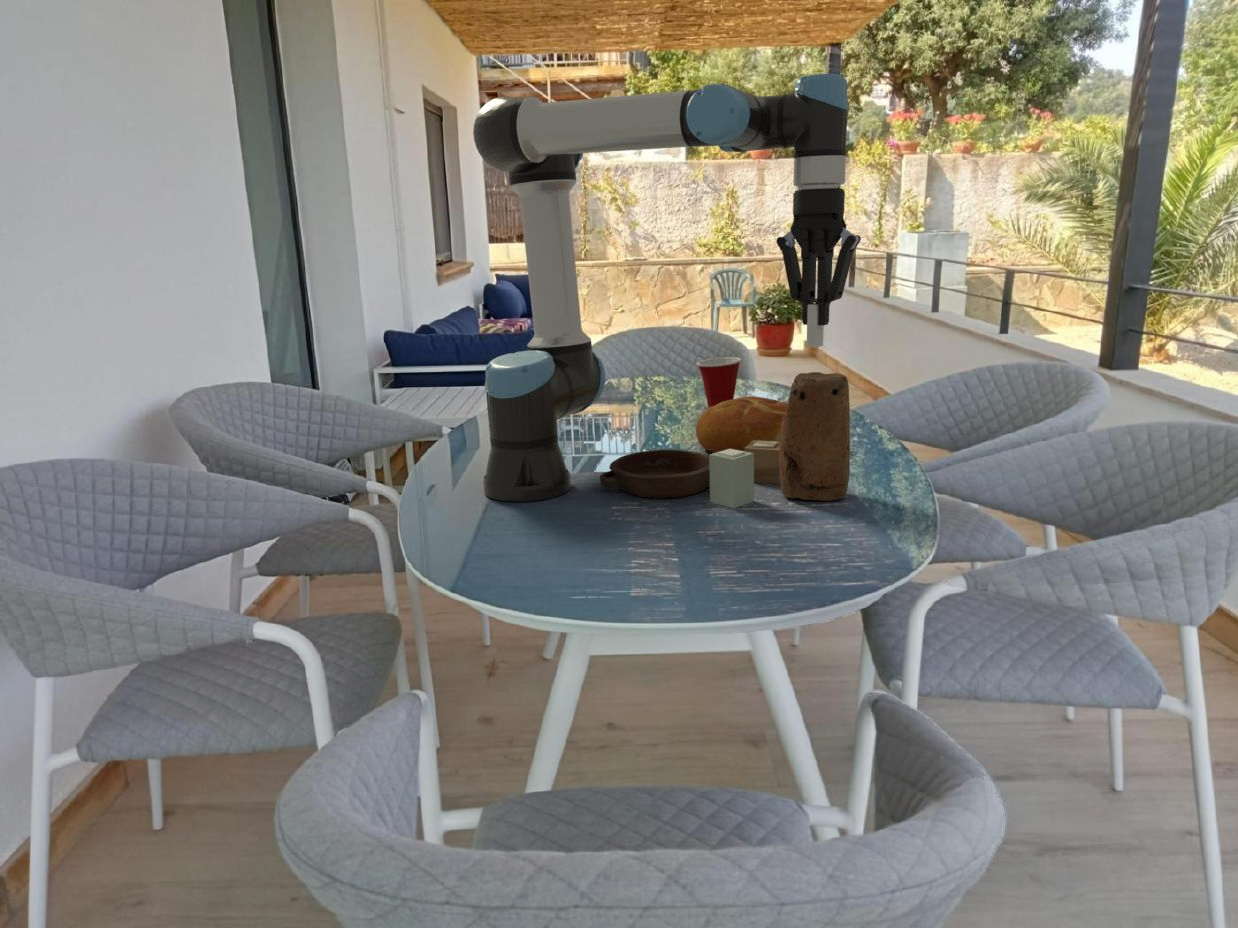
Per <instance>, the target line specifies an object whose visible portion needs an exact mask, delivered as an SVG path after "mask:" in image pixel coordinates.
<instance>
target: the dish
mask: <svg viewBox="0 0 1238 928" xmlns="http://www.w3.org/2000/svg"><path fill="white" fill-rule="evenodd" d="M599 480H600V483H601V485H602V486H603V487H605V488H606V487H607V488H617V489H621V490H624V492H626V493H628V494H630V495H633V496H639V497H642V498H644V497H645V498H651V497H654V498H653V499H669V498H668V497H671V498H681V497H686V496H690V495H694V494H697V493H700V492H702V491H704V490H706V489H707V488H708V487H710V461H709V455H708V454H705V453H701V452H697V451H690V450H683V449H651V450H645V451H637V452H631V453H629V454H625V455H622V456H620V457H618V458H617V459H615V460H613V461H612V462H611V463H610V465H609V471H605V472H603V473H601V474H600V475H599Z"/></svg>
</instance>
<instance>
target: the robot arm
mask: <svg viewBox="0 0 1238 928" xmlns="http://www.w3.org/2000/svg"><path fill="white" fill-rule="evenodd" d="M848 103H849V102H848V81H847V79H846V78H845V77H844V76H842V75H840V74H836V73H817V74H816V73H815V74H809V75H804V76H801V77H799V78H797V80H796V81H795V85H794V88H793V92H790V93H788V94H780V95H779V94H778V95H777V94H776V95H767V96H758V95H755V94H751V93H748V92H745V91H743V90H741V89H738V88H735V87H734V86H731V85H729V84H724V83H723V84H720V83H717V84H716V83H713V84H712V83H711V84H707V85H704V86H702V87H701V88H698V89H694V90H690V89H689V90H678V91H677V90H676V91H665V92H654V93H653V92H652V93H643V94H642V93H641V94H632V95H630V94H629V95H619V96H608V97H607V96H605V97H597V98H595V97H594V98H585V99H584V98H583V99H573V100H572V99H571V100H561V101H550V102H549V101H548V102H546V101H545V102H544V101H542V100H541V99H540V98H538V97H537V96H526V97H525V96H523V97H516V96H499V97H497V98H494V99H491V100H489V101H488V102H487V103H485V104H484V105H483V106H482V107H481V109H480V110H479V112H478V113H477V115H476V116H475V117H476V118H475V120H474V124H473V133H472V135H473V141H474V144H475V147H476V150H477V152H478V153H479V156H480V157H481V158H482V159H483V160H484V161H485V162H486V163H487V164H488V165H490V166H491V167H492V168H494V169H496V170H498V171H502V172H506V173H508V181H509V189H511V191H513V193H515V194H516V195H517V196H518V197H519V200H520V202H519V203H520V211H521V220H522V229H523V238H524V246H525V247H524V248H525V257H526V265H527V266H526V268H527V276H528V284H529V285H528V286H529V295H530V303H531V304H530V305H531V313H532V322H533V331H534V335H533V337H532V338H531V340H530V341H529V342H528V343H527V350H521V351H516V352H514V353H513V352H512V353H505V354H503V355H500V356H497V357H495V358H494V359H491V360H490V361H489V362H488V363H487V365H486V368H485V382H484V389H485V393H486V394H485V395H486V405H487V417H488V418H487V419H488V427H489V440H490V441H489V442H490V452H489V455H488V460H487V465H486V466H487V467H486V473H485V475H484V477H483V482H482V483H483V484H482V485H483V493H484V495H485V496H486V497H488V498H490V499H494V500H495V501H496V500H497V501H502V502H515V503H516V502H517V503H518V502H532V501H533V502H534V501H542V500H547V499H553V498H554V497H557V496H560V495H563V494H565V493H567V492H568V491H569V490H571V487H572V483H571V473H570V471H569V470H568V468H567V466H566V463H565V459H564V456H563V454H562V451H561V448H560V445H559V434H558V433H559V432H558V420H561V419H563V418H566V417H568V416H571V415H576V414H578V413H581V412H584V411H585V410H587V409H588V408H589V407H591V406H593V405H594V404H595V403H596V402H597V401H598V400H599V398H600V396H602V394H603V392H604V388H605V383H606V371H605V367H604V364H603V362H602V359H601V358H599V357H598V355H597V353H596V352H594V351H593V346H592V345H593V344H592V338H591V337H589V336H588V334H586V333H585V332H584V331H583V328H582V319H581V308H580V297H579V288H578V277H577V269H576V267H577V266H576V255H575V245H574V236H573V233H574V232H573V224H572V215H571V214H572V212H571V203H570V202H571V201H570V192H571V190H572V189H573V188H574V187H575V186H576V184H577V173H576V172H577V171H576V169H577V168H578V167H579V164H580V162H581V160H582V159H583V155H584V154H591V153H605V152H606V153H609V152H624V151H626V152H627V151H642V150H643V151H644V150H656V149H657V150H658V149H659V150H660V149H673V148H675V149H676V148H677V149H678V148H691V147H692V148H693V147H694V148H696V147H697V148H700V147H718V148H719V150H721V151H722V152H725V153H741V154H743V153H746V152H751V151H752V152H754V151H765V150H776V149H790V148H793V151H794V153H793V180H792V181H793V183H792V185H793V186H794V187H797V190H794V192H793V195H792V197H793V198H792V213H793V214H792V215H793V220H792V224H791V225H790V231H788V232H787V233H786V234H785V235H783V236H779V237H777V238H776V240H775V241H776V244H777V246H778V247H779V249H780V251H781V253H782V258H783V264H784V267H785V268H784V270H785V273H786V279H787V283H788V284H787V285H788V289H789V294H790V297H791V299H792V300H796V301H798V302H800V303H801V304H802V313H801V314H802V319H801V320H802V321H801V322H802V324H803V325H805V326H806V348H813V349H815V348H818V347H822V346H824V327H825V326H828V324H829V322H830V305H831V303H832V302H835V301H837V300H840V299H842V297H843V294H844V290H845V287H846V283H847V282H846V281H847V279H848V275H849V272H850V267H851V263H852V259H853V255H854V252H855V250H856V248H857V247H858V246H859V244H860V242H861V240H862V238H861V237H862V236H860V234H859V235H858V234H854V233H852V232H851V231H849V230H848V229H847V224H846V221H845V219H844V217H845V203H846V202H845V198H846V191H845V190H844V188H842V187H841V186H842V185H844V184H845V183H846V167H847V166H846V165H847V163H846V162H847V161H846V160H847V154H846V153H847V150H846V149H847V135H848V133H847V132H848V131H847V130H848V116H849V109H850V108H849V106H848V105H849V104H848ZM840 240H841V241H840ZM839 241H840V245H841V247H840V249H839V253H838V255H837V260H836V263H835V268H834V271H832V270H833V258H834V256H835V253H834V252H835V251H834V250H835V247H836V246H837V244H838V243H839ZM796 244H798V246H799V247H800V258H801V261H802V262H801V263H802V264H801V268H800V263H799V258H798V252H797V249H796ZM816 282H817V283H816ZM816 289H817V290H816Z"/></svg>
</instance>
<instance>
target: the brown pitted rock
mask: <svg viewBox="0 0 1238 928" xmlns="http://www.w3.org/2000/svg"><path fill="white" fill-rule="evenodd" d="M849 385H850V384H849V380H848V377H847V376H846V375H845V374H842V373H836V372H834V373H822V372H820V371H817V372H815V371H812V372H808V373H807V372H805V373H804V372H800V373H798V374H797V375H796V376H795V377H794V379H793V382H792V383H791V388H790V391H789V396H788V400H787V403H788V404H787V409H786V412H785V413H784V416H783V418H782V421H781V430H780V482H779V483H780V490H781V493H782V496H784V497H786V498H788V499H801V500H805V501H822V502H823V501H827V502H829V501H837V500H842V499H843V498H845V496H846V494H847V491H848V487H849V483H850V482H849V481H850V474H851V473H850V471H851V469H850V466H851V464H850V463H851V462H850V461H851V460H850V459H851V448H850V446H851V441H850V438H851V425H850V424H851V417H850V414H851V413H850V412H851V411H850V408H851V405H850V387H849Z"/></svg>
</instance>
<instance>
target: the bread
mask: <svg viewBox="0 0 1238 928" xmlns="http://www.w3.org/2000/svg"><path fill="white" fill-rule="evenodd" d="M787 404H788V402H784V401H779V400H776V399H773V398H772V399H771V398H767V397H761V396H742V397H737V398H733V399H732V400H727V401H724V402H721V403H719V404H717V405H715V406H712V407H709V408H706V409H705V410H704V411H703V412H702V414H701V415H700V416H699V418H698V420H697V422H696V425H695V437H696V439H697V441H698V443H699V445H700V446H701V447H702V448H703V449H705V450H706V451H708V452H710V453H711V454H713V453H716V452H720V451H723V450H727V449H735V450H740V451H744V448H745V447H746V446H747V445H748V444H749V443H750V442H752V441H753V440H756V441H774V442H780V430H781V421H782V418H783V416H784V413H785V412H786V409H787Z"/></svg>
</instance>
